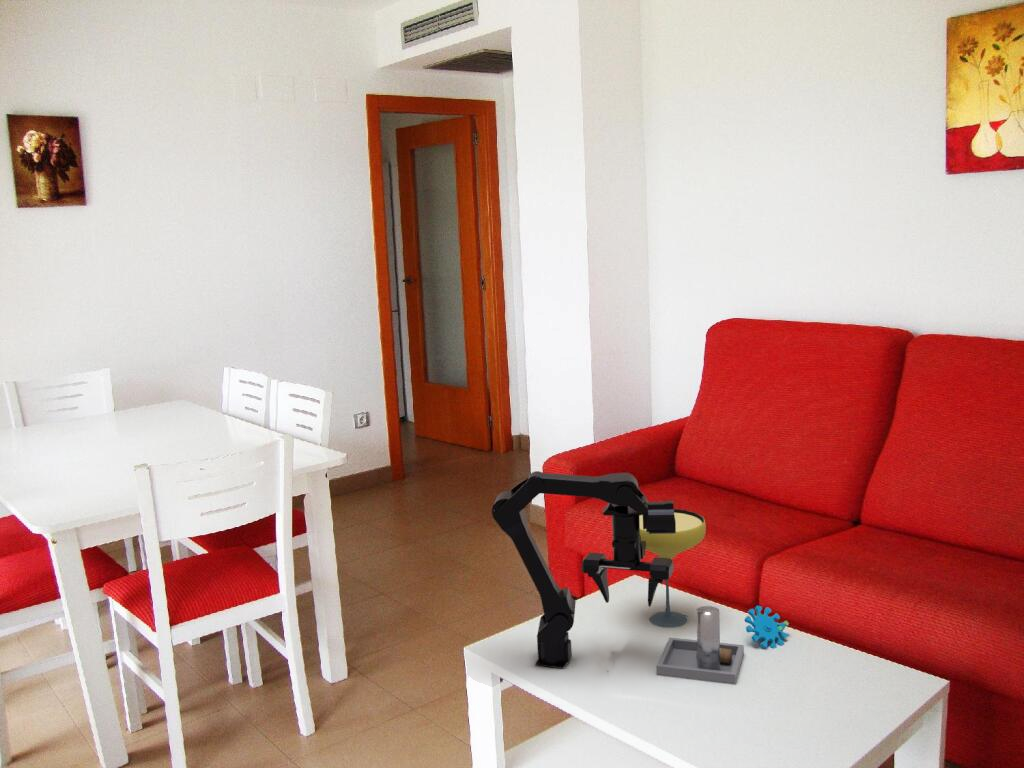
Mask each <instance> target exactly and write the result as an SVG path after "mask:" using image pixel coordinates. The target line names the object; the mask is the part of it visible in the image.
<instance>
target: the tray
mask: <svg viewBox="0 0 1024 768" xmlns="http://www.w3.org/2000/svg"><path fill="white" fill-rule="evenodd" d="M720 648H724V649H732V662H731V664H726V663H720V671H717V670H708V669H699V668H698V661H697V639H687V638H680V637H679V638H677V637H671V636H670V637H668V639H667V642H666V644H665V647H664V648H663V650H662V653H661V655H660V657H659V659H658V661H657V663H656V676H661V677H670V678H676V679H686V680H693V681H694V680H696V681H702V682H703V681H704V682H711V683H719V684H728V685H736V684H737V680H738V678H739V677H738V676H739V673H740V670H741V666H742V662H743V659H744V655H745V649H744V648H745V645H743V644H737V643H725V642H720Z"/></svg>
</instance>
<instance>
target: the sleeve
mask: <svg viewBox="0 0 1024 768" xmlns="http://www.w3.org/2000/svg"><path fill="white" fill-rule="evenodd" d="M720 624H721V623H720V609H719V608H717V607H715V606H711V605H705V606H699V607H697V608H696V640H697V661H698V668H699V669H708V670H717V671H720V643H721V629H720V628H721V627H720V626H721V625H720Z"/></svg>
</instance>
